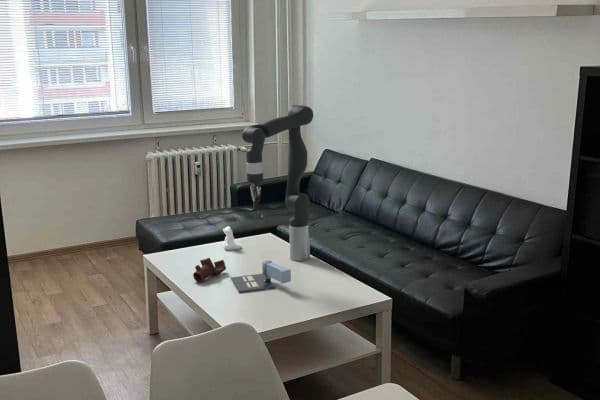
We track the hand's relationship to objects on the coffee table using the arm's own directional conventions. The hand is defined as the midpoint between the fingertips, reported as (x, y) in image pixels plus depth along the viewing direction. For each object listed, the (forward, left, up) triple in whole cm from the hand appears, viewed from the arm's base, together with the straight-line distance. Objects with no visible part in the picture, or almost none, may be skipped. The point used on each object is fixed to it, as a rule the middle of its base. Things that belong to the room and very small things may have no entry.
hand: (256, 208), depth 316 cm
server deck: (+6, +13, -31) cm, 34 cm away
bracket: (+23, -3, -31) cm, 39 cm away
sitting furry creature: (+5, -42, -31) cm, 53 cm away
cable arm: (-3, +19, -27) cm, 33 cm away
